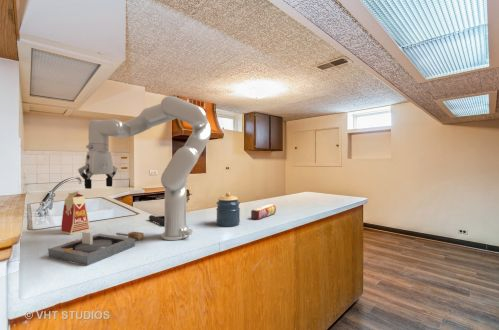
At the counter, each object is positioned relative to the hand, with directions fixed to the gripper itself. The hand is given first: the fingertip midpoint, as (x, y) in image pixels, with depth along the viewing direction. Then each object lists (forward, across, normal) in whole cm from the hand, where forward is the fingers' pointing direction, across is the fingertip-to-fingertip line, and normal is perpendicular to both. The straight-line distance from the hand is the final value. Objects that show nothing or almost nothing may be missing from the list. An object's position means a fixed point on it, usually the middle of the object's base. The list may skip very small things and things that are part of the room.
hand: (99, 187), depth 109 cm
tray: (+23, -10, -12) cm, 28 cm away
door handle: (+24, +38, -4) cm, 45 cm away
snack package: (+24, +72, -51) cm, 92 cm away
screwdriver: (+23, +7, -11) cm, 27 cm away
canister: (+23, +47, -39) cm, 65 cm away
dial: (+22, -10, -12) cm, 27 cm away
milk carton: (+23, +4, +23) cm, 33 cm away
